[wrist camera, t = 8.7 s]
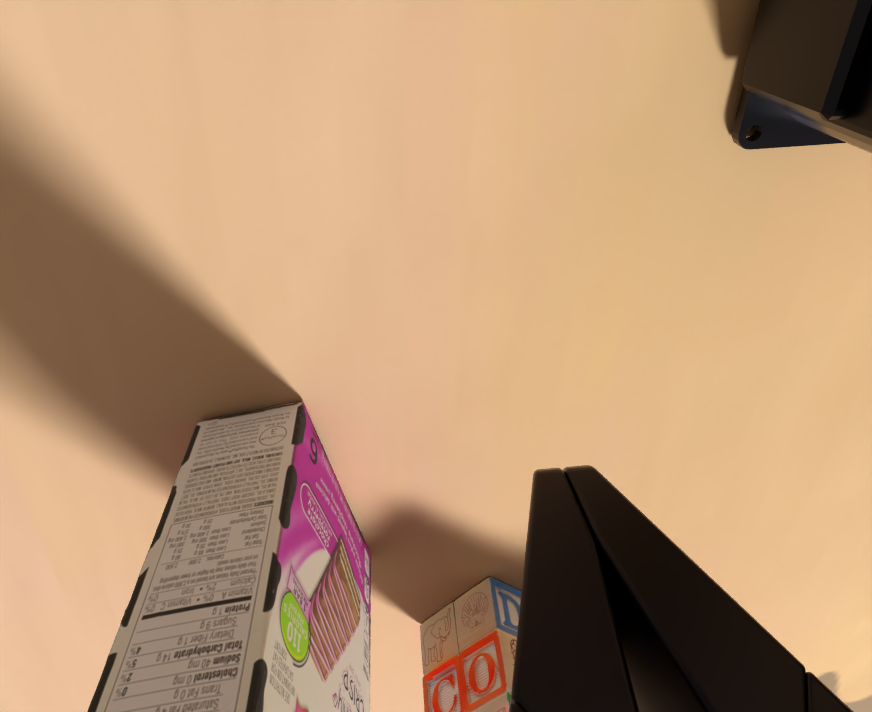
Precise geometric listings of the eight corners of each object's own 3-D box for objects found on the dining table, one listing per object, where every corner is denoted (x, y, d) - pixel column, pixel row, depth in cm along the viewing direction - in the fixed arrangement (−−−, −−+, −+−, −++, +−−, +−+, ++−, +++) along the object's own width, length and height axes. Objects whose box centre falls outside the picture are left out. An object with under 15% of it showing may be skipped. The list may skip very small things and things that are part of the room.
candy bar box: (378, 552, 30) (376, 1037, 17) (286, 570, 30) (212, 1061, 17) (309, 391, 23) (215, 977, 10) (192, 415, 24) (-50, 1017, 10)
